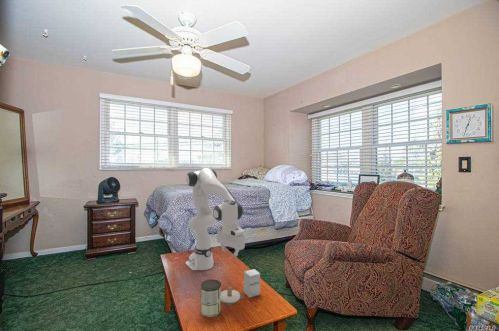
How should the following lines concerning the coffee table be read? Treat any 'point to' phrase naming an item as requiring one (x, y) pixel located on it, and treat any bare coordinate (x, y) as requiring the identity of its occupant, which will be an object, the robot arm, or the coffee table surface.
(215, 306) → the coffee can
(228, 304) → the mat
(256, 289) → the supplement box
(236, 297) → the lid
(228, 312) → the coffee table surface
